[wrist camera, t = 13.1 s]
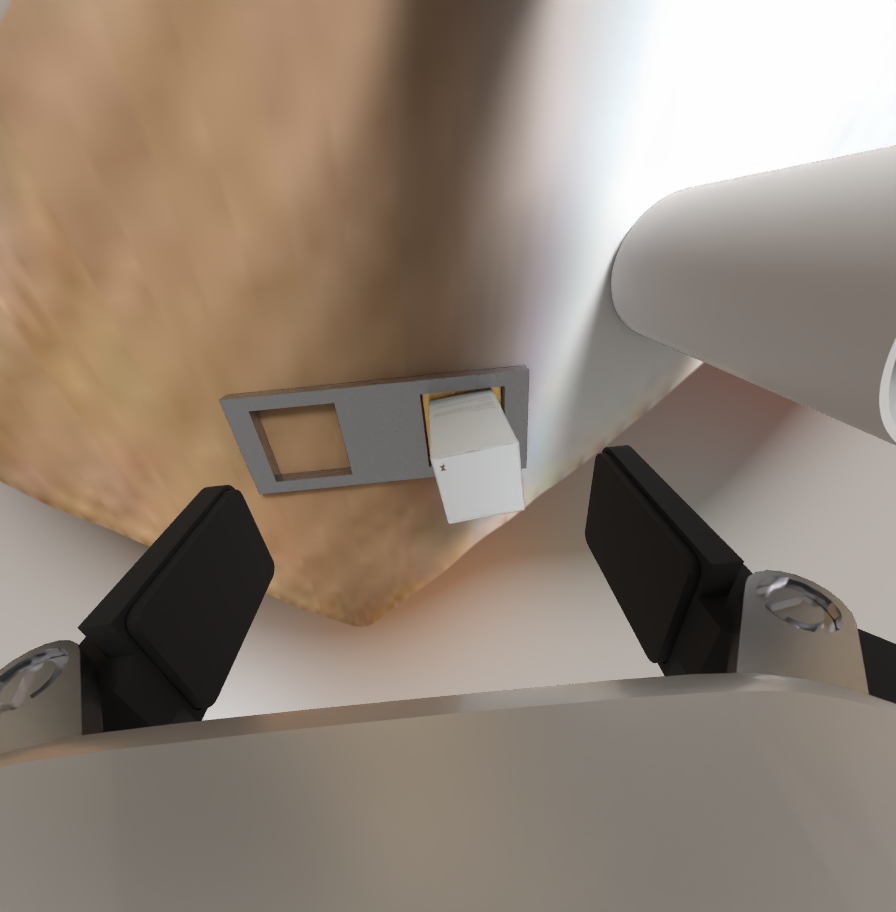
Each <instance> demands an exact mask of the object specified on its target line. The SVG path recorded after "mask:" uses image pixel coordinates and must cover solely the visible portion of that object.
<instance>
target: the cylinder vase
mask: <svg viewBox="0 0 896 912" xmlns="http://www.w3.org/2000/svg"><path fill="white" fill-rule="evenodd" d="M611 293H612V299H613V303H614V306H615V309H616V311H617V313H618V315H619V317H620V318H621V320H622V321H623V322H624V323H625V324H626V325H627V326H628V327H629V328H630V329H632V330H633V331H635V332H636V333H638V334H641V335H643V336H645V337H648V338H650V339H652V340H655V341H657V342H659V343H661V344H664V345H666V346H668V347H671V348H673V349H675V350H678V351H680V352H682V353H684V354H687V355H689V356H691V357H694V358H696V359H698V360H701V361H703V362H705V363H708V364H710V365H712V366H714V367H717V368H719V369H721V370H724V371H726V372H729V373H731V374H733V375H735V376H738V377H740V378H742V379H745V380H747V381H749V382H751V383H754V384H756V385H758V386H760V387H763V388H765V389H767V390H770V391H772V392H774V393H777V394H779V395H781V396H784V397H786V398H788V399H790V400H793V401H795V402H798V403H800V404H802V405H804V406H807V407H809V408H811V409H813V410H816V411H818V412H820V413H823V414H825V415H827V416H830V417H832V418H834V419H837V420H839V421H841V422H844V423H846V424H848V425H850V426H853V427H855V428H857V429H860V430H862V431H864V432H866V433H869V434H871V435H873V436H876V437H878V438H880V439H883V440H885V441H887V442H889V443H892V444H894V445H896V146H891V147H886V148H881V149H876V150H871V151H866V152H861V153H857V154H852V155H847V156H842V157H837V158H832V159H827V160H822V161H817V162H813V163H808V164H803V165H798V166H793V167H788V168H783V169H778V170H773V171H769V172H764V173H759V174H754V175H749V176H744V177H739V178H734V179H729V180H725V181H720V182H715V183H710V184H705V185H700V186H695V187H690V188H686V189H683V190H680V191H677V192H675V193H672V194H670V195H668V196H667V197H665V198H663V199H661V200H660V201H658V202H657V203H656V204H654V205H653V206H652V207H651V208H649V209H648V210H647V211H646V212H645V213H644V214H643V215H642V216H641V217H640V218H639V219H638V220H637V221H636V223H635V224H634V225H633V226H632V228H631V229H630V231H629V232H628V234H627V235H626V237H625V238H624V240H623V242H622V244H621V246H620V248H619V251H618V253H617V256H616V259H615V262H614V266H613V270H612V277H611Z"/></svg>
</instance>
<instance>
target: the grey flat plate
mask: <svg viewBox="0 0 896 912" xmlns="http://www.w3.org/2000/svg"><path fill="white" fill-rule="evenodd" d="M501 386H502V405H503V412H504V414H505V416H506V419H507V421H508V423H509V425H510V427H511V429H512V431H513V433H514V435H515V437H516V438H517V440H518V442H519V448H520V460H521V468H526V461H527V426H528V392H529V369H528V368H527V366H526V365H523V366H513V367H503V368H493V369H482V370H472V371H462V372H452V373H442V374H432V375H422V376H411V377H401V378H391V379H381V380H371V381H361V382H351V383H340V384H330V385H320V386H310V387H300V388H290V389H280V390H269V391H259V392H249V393H239V394H229V395H225V396H224V397H223V398H221V399H220V400H219V402H220V404H221V406H222V409H223V411H224V413H225V416H226V418H227V420H228V423H229V425H230V427H231V430H232V432H233V434H234V436H235V439H236V441H237V443H238V446H239V448H240V450H241V453H242V455H243V457H244V460H245V462H246V464H247V467H248V469H249V471H250V474H251V476H252V478H253V481H254V483H255V485H256V488H257V490H258V492H259V494H268V493H279V492H289V491H299V490H309V489H319V488H329V487H339V486H349V485H359V484H369V483H380V482H390V481H400V480H410V479H420V478H430V477H435V475H434V471H433V467H432V464H431V460H429V456H428V449H427V441H426V433H425V426H424V418H423V410H422V402H421V395H420V394H422V397H423V404H424V412H425V420H426V428H427V436H428V444H429V452H430V430H429V401H432V400H437V399H441V398H446V397H451V396H456V395H460V394H465V393H470V392H475V391H480V390H485V389H490V388H491V389H492V390H493V392H494V394H495V396H496V398H497V400H498V402H499V404H500V406H501ZM329 403H334V405H335V409H336V412H337V416H338V420H339V424H340V428H341V432H342V435H343V439H344V443H345V447H346V451H347V455H348V458H349V462H350V466H351V468H342V469H332V470H321V471H311V472H301V473H291V474H281V473H280V471H279V468H278V466H277V463H276V460H275V458H274V455H273V452H272V450H271V447H270V445H269V442H268V439H267V437H266V434H265V431H264V429H263V426H262V423H261V421H260V418H259V416H258V413H257V411H258V410H268V409H278V408H288V407H298V406H309V405H319V404H329Z"/></svg>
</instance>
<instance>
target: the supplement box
mask: <svg viewBox="0 0 896 912" xmlns="http://www.w3.org/2000/svg"><path fill="white" fill-rule="evenodd" d="M429 430H430V460H431V464H432V467H433V471H434V475H435V478H436V482H437V485H438V489H439V492H440V496H441V499H442V503H443V506H444V509H445V513H446V517H447V520H448V524H453V523H458V522H463V521H468V520H473V519H478V518H484V517H489V516H494V515H499V514H505V513H510V512H515V511H521V510H524V509H525V507H524V497H523V486H522V473H521V460H520V448H519V442H518V440H517V438H516V437H515V435H514V433H513V431H512V429H511V427H510V425H509V423H508V421H507V419H506V416H505V414H504V412H503V410H502V408H501V406H500V404H499V402H498V400H497V398H496V396H495V394H494V392H493V390H492V389H491V388H490V389H485V390H480V391H475V392H470V393H465V394H460V395H456V396H451V397H446V398H441V399H437V400H432V401H429Z"/></svg>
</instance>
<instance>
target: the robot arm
mask: <svg viewBox="0 0 896 912" xmlns="http://www.w3.org/2000/svg"><path fill="white" fill-rule="evenodd" d="M585 537H586V541H587V544H588V546H589V548H590V550H591V552H592V553H593V555H594V557H595V559H596V561H597V563H598V564H599V567H600V569H601V570H602V572H603V574H604V576H605V578H606V580H607V582H608V584H609V586H610V587H611V589H612V591H613V593H614V595H615V597H616V599H617V601H618V603H619V604H620V606H621V608H622V610H623V612H624V614H625V616H626V618H627V620H628V621H629V623H630V625H631V627H632V629H633V631H634V633H635V635H636V637H637V638H638V640H639V642H640V644H641V646H642V648H643V650H644V652H645V653H646V655H647V657H648V659H649V660H650V661H651V662H653V663H658V665H659V666H660V668H661V670H662V672H663V674H664V676H663V677H650V678H638V679H623V680H611V681H599V682H588V683H579V684H568V685H557V686H546V687H535V688H524V689H514V690H503V691H493V692H482V693H471V694H461V695H452V696H441V697H431V698H421V699H411V700H400V701H390V702H380V703H371V704H361V705H351V706H340V707H331V708H320V709H310V710H301V711H291V712H282V713H272V714H263V715H253V716H244V717H234V718H225V719H216V720H207V721H202V719H203V717H204V714H205V712H206V710H207V708H208V707H210V706H212V705H213V704H214V703H215V701H216V699H217V698H218V696H219V694H220V691H221V688H222V687H223V685H224V683H225V680H226V678H227V676H228V674H229V672H230V669H231V667H232V665H233V663H234V661H235V658H236V656H237V654H238V652H239V650H240V648H241V645H242V643H243V641H244V639H245V637H246V634H247V632H248V630H249V628H250V626H251V623H252V621H253V619H254V617H255V615H256V613H257V610H258V608H259V606H260V604H261V602H262V599H263V597H264V595H265V593H266V591H267V588H268V586H269V584H270V582H271V580H272V578H273V575H274V562H273V560H272V557H271V555H270V553H269V551H268V549H267V547H266V545H265V542H264V540H263V538H262V536H261V534H260V532H259V529H258V527H257V525H256V523H255V521H254V519H253V516H252V514H251V512H250V510H249V508H248V506H247V504H246V501H245V499H244V497H243V495H242V493H241V492H240V491H239V490H235V489H234V488H233V487H232V486H230V485H223V486H213V487H206V488H204V489H202V490H201V491H200V492H199V493H198V495H197V496H196V497H195V498H194V499H193V500H192V501H191V502H190V503H189V505H188V506H187V507H186V508H185V509H184V510H183V511H182V512H181V513H180V515H179V516H178V517H177V518H176V519H175V520H174V521H173V522H172V523H171V525H170V526H169V527H168V528H167V529H166V530H165V531H164V532H163V533H162V535H161V536H160V537H159V538H158V539H157V540H156V541H155V542H154V543H153V545H152V546H151V547H150V548H149V549H148V550H147V551H146V552H145V553H144V555H143V556H142V557H141V558H140V559H139V560H138V561H137V562H136V563H135V565H134V566H133V567H132V568H131V569H130V570H129V571H128V572H127V573H126V575H125V576H124V577H123V578H122V579H121V580H120V581H119V582H118V583H117V585H116V586H115V587H114V588H113V589H112V590H111V591H110V592H109V593H108V594H107V596H106V597H105V598H104V599H103V600H102V601H101V602H100V603H99V605H98V606H97V607H96V608H95V609H94V610H93V611H92V612H91V614H89V616H88V617H87V618H86V619H85V620H84V621H83V622H82V623H81V624H80V626H79V627H78V629H79V630H80V631H81V632H82V633H83V634H84V635H85V636H86V637H85V639H84V640H83V641H82V642H81V643H80V645H78V644H77V643H75V642H73V641H70V640H59V641H55V642H51V643H48V644H44V645H42V646H40V647H37V648H35V649H33V650H31V651H28V652H27V653H25V654H23V655H22V656H20V657H18V658H16V659H15V660H13V661H12V662H10V663H9V664H7V665H6V666H5V667H4V668H2V669H1V670H0V912H896V644H894V643H892V642H889V641H887V640H884V639H882V638H880V637H877V636H875V635H872V634H870V633H867V632H865V631H862V630H860V629H858V628H857V623H856V621H855V619H854V616H853V614H852V612H851V611H850V610H849V609H848V608H847V606H846V605H845V604H844V603H843V602H842V601H841V600H840V599H839V598H837V597H836V596H835V595H833V594H832V593H831V592H830V591H828V590H827V589H825V588H823V587H822V586H820V585H818V584H816V583H815V582H813V581H810V580H808V579H805V578H803V577H800V576H798V575H795V574H791V573H787V572H782V571H773V570H765V571H759V572H755V573H754V574H753V573H751V572H750V570H749V569H748V568H747V567H746V566H745V565H744V564H743V562H744V561H743V560H742V559H741V558H740V557H739V556H738V555H737V554H736V553H735V552H734V551H733V550H732V549H731V548H730V547H729V546H728V545H727V544H726V543H725V542H724V541H723V540H722V539H721V538H720V537H719V536H718V535H717V534H716V533H715V532H714V531H713V530H712V529H711V528H710V527H709V526H708V525H707V523H706V522H704V520H703V519H702V518H700V516H699V515H698V514H696V512H695V511H694V510H693V509H692V508H691V507H690V506H689V505H688V504H687V503H686V502H685V501H684V500H683V499H682V498H681V497H680V496H679V495H678V494H677V493H676V492H675V491H674V490H673V489H672V488H671V487H670V486H669V485H668V484H667V483H666V482H665V481H664V480H663V479H662V478H661V477H660V476H659V475H658V474H657V473H656V472H655V471H654V470H653V469H652V468H651V467H650V466H649V465H648V464H647V463H646V462H645V461H644V460H643V459H642V458H641V457H640V456H639V455H638V454H637V453H636V452H635V451H634V450H633V449H632V448H631V447H630V446H628V445H625V446H616V447H606V448H604V449H603V451H602V453H600V454H597V456H596V459H595V465H594V472H593V480H592V486H591V494H590V500H589V508H588V515H587V522H586V529H585Z"/></svg>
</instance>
